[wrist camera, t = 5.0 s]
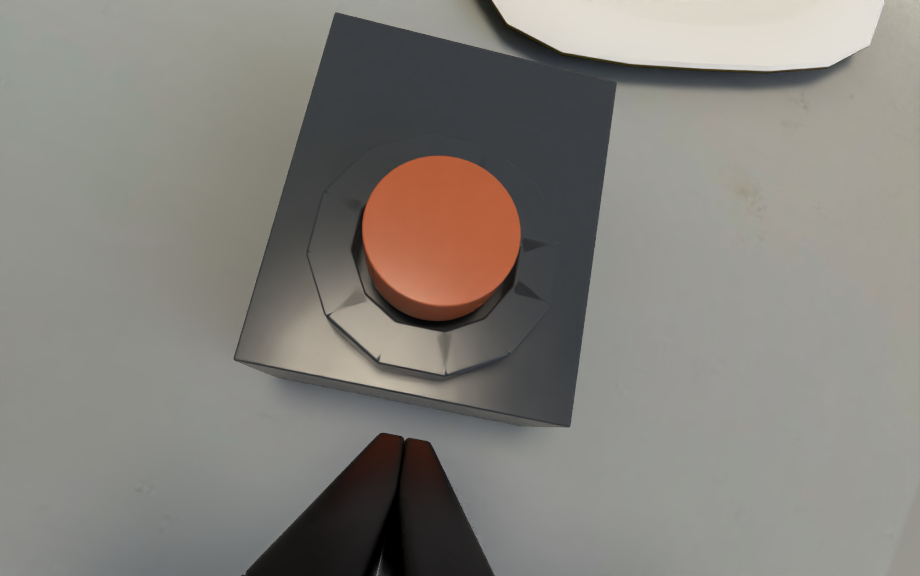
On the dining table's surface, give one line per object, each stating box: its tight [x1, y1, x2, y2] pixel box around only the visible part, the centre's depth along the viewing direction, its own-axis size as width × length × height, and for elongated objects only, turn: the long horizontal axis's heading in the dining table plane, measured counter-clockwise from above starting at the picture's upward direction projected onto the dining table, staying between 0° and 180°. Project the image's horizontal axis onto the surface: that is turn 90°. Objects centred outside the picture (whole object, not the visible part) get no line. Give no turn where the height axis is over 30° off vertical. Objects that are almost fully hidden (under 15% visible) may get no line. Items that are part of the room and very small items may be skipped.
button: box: [362, 156, 521, 321], centre depth 15 cm, size 4×4×2 cm
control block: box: [234, 13, 617, 427], centre depth 20 cm, size 12×10×8 cm
